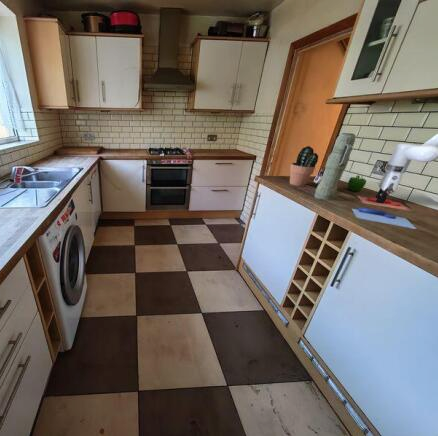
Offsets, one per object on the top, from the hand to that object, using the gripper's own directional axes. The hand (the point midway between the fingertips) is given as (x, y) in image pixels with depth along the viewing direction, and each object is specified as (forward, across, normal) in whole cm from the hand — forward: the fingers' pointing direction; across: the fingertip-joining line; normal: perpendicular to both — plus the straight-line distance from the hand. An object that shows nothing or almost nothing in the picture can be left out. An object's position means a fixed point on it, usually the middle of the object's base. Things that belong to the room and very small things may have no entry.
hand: (378, 201), depth 125 cm
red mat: (+1, 0, -2) cm, 2 cm away
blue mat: (+1, -28, +5) cm, 28 cm away
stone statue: (+1, -9, +26) cm, 27 cm away
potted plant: (+1, +15, +39) cm, 42 cm away
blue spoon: (0, -24, +6) cm, 24 cm away
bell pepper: (+1, +21, +8) cm, 22 cm away
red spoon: (0, 0, -2) cm, 2 cm away
